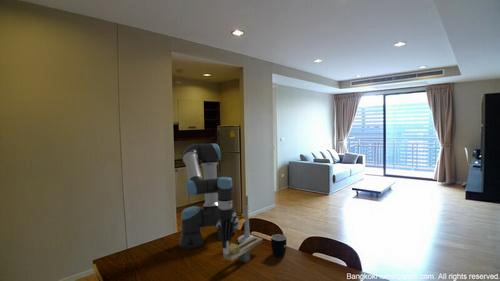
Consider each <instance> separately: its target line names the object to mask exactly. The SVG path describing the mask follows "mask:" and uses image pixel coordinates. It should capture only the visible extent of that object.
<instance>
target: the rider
mask: <svg viewBox="0 0 500 281" xmlns="http://www.w3.org/2000/svg"><path fill="white" fill-rule="evenodd" d="M238 252H240V246H239V244H235V243H234V242H233V243H232V242H231V243H229V253H230V254H231V255H232V254H233V255H234V254H236V253H238Z"/></svg>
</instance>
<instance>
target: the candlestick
mask: <svg viewBox="0 0 500 281" xmlns="http://www.w3.org/2000/svg"><path fill="white" fill-rule="evenodd" d="M243 206H244V211H245V212H244V234H241V235H240V236H238V238H237V239H236V240H238V241H237V242H238V243H239V244H242V243H243V242H245V241H247V240H249V239H250V238H252V237H254V236H255V235H252V234H250V220H249V207H250V205H249V196H248V195H245V196H244V205H243Z"/></svg>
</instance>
